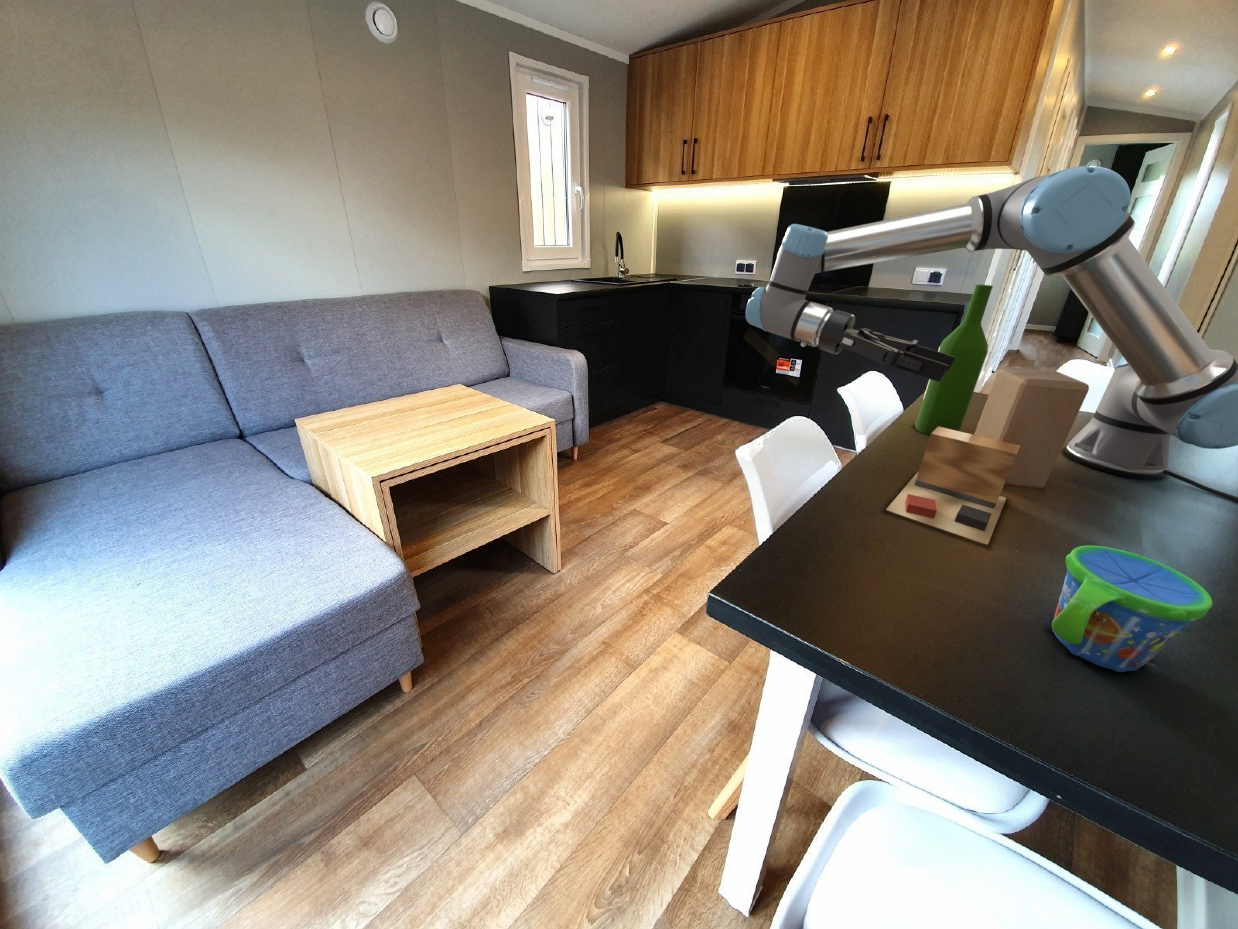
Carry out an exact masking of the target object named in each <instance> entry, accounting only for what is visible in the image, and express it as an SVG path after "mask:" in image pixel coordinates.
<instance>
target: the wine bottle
mask: <svg viewBox="0 0 1238 929" xmlns="http://www.w3.org/2000/svg"><path fill="white" fill-rule="evenodd" d="M993 288H994V286H993V285H990V284H975V286H974V290H973V293H972V296H971V298H970V300H969V304H968V307H967V310H966V313H965V316H964V319H963V321H961V323H960V324H959V325H958V326H957V327H956V328H955V329H954V330H953V331H951V333H949V334H948V335H947V336H946V337H945V338H944V339H943V340H942V342H941V344H940V345H939V347H938V350H937V351H938V352H941V353H944V354H947V355H951V356H954V357H956V358H955V360H954V362H953V363H952V365H951V367H950V369H949V371H948V372H946V371H945V373H944V375H943V377H942V379H941V380H940V382H937V381H935V380H932V379H929V378H928V381H927V385H926V389H925V392H924V395H923V399H922V402H921V405H920V409H919V412H918V414H917V418H916V421H915V427H914V428H915V429H916V430H917V431H918V432H920V433H922V434H924V435H928V436H931V433H932V432H933V431H934V430H935V429H936V428H937V427H943V428H947V429H951V430H955V431H960V432H961V428H962V425H963V423H964V420H965V417H966V414H967V411H968V409H969V406H970V403H971V400H972V398H973V394H974V391H975V389H976V386H977V384H978V381H979V378H980V375H981V372H982V369H983V366H984V363H985V361H986V358H987V355H988V351H989V344H988V340H987V338H986V335H985V332H984V329H983V326H982V321H983V318H984V314H985V311H986V308H987V306H988V303H989V299H990V296H991V292H992V291H993V290H992V289H993Z"/></svg>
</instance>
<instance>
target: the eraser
mask: <svg viewBox="0 0 1238 929" xmlns="http://www.w3.org/2000/svg"><path fill="white" fill-rule="evenodd" d="M929 436H930V437H929V439H928V442H927V445H926V448H925V452H924V455H923V457H922V461H921V464H920V467H919V469H918V471H917V472H918V476H917V479H916V482H915V485H917V486H920V487H924V488H927V489H930V490H933V491H937V492H940V493H943V494H947V495H950V496H953V497H956V498H960V499H963V500H966V501H969V502H973V503H976V504H979V505H983V506H986V507H989V508H992V509H994V508H995V505H996V503H997V501H998V498H999V496H1001V493H1002V492H1003V488H1004V486H1005V485H1004V484H1005V482H1006V479H1007V477H1008V475H1009V472H1010V470H1011V467H1012V465H1013V463H1014V460H1015V458H1016V455H1017V453H1018V451H1019V448H1020V445H1015V444H1011V443H1007V442H1003V441H998V440H994V439H990V438H985V437H981V436H977V435H974V434H972V433H968V432H964V431H961V430H960V431H955V430H951V429H947V428H943V427H937V428H936V429H935V430H934V431H933V432H932V433H931V435H929Z"/></svg>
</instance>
